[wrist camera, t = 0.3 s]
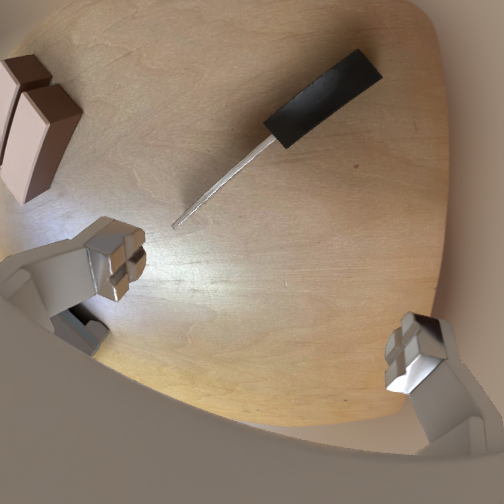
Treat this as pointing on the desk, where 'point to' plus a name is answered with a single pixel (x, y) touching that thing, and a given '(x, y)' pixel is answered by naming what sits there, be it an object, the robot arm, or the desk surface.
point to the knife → (307, 111)
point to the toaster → (79, 332)
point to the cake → (32, 126)
